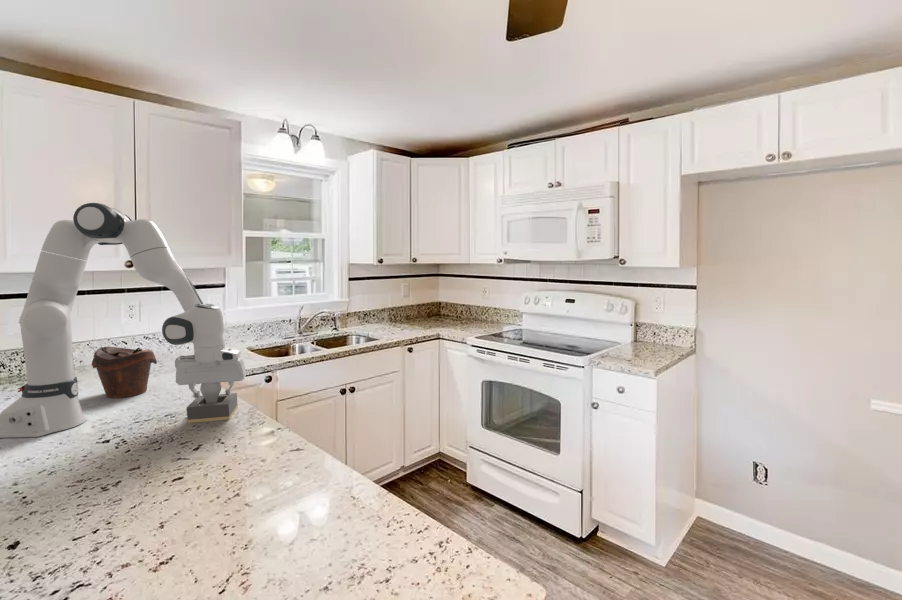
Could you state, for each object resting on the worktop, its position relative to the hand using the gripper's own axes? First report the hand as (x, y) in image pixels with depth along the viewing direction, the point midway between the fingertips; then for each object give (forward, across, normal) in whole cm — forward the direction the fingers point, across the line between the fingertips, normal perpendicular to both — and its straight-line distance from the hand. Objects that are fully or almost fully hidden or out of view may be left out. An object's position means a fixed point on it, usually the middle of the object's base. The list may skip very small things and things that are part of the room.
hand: (212, 395), depth 149 cm
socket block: (+6, 0, 0) cm, 6 cm away
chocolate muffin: (+6, -39, +35) cm, 53 cm away
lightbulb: (+6, -1, 0) cm, 6 cm away
